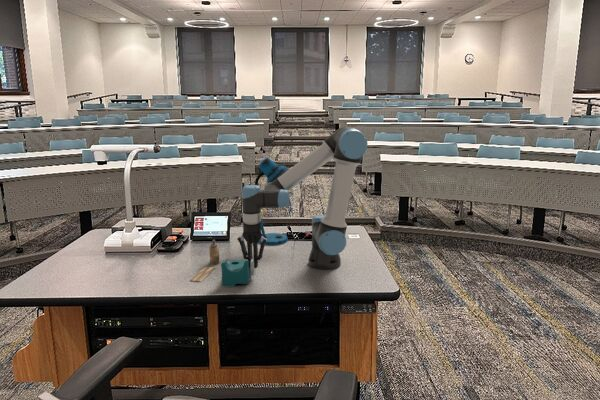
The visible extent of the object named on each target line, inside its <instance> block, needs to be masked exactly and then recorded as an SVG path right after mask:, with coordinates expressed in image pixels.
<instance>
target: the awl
mask: <svg viewBox="0 0 600 400" xmlns="http://www.w3.org/2000/svg"><path fill="white" fill-rule="evenodd" d="M211 240H212V243H210V245H209V247H208V248H209V263H210V265H218V264H220V246H219V245H218V243H217V242H216V239H211Z"/></svg>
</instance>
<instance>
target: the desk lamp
mask: <svg viewBox="0 0 600 400" xmlns="http://www.w3.org/2000/svg"><path fill="white" fill-rule="evenodd" d="M258 168H259V169H260V173H258V175H257V176H256V178H255V181H254V185H258V186H259V180H260V179H261V178H262V177H263V176H265V177H266V179H267V184H268V183H269V182H273V181H274V180H276V179H277V178H278V177H280V176H281V175H282V174H284V173H285V172H286V171H288V170H289V169H290V168H288V167H287V166H286V165H279V164H277V163H275V162H274V161H273V160H272V159H270V158H269V157H265V158H264V159H262V160H261V161H260V163H259V164H258ZM260 222H261V233H262V236H263V237H264V238H267V241H266V242H265V246H279V245H285V244H286V243H288V241H289V239H288V236H287V235H286V234H284V233H280V232H269V233H268V232H267V233H266V231H265V229H264V223H263V219H262V217H261V221H260ZM261 243H262V242H261V239H260V240H259V241H258V244H260V245H261Z"/></svg>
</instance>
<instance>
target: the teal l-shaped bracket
mask: <svg viewBox="0 0 600 400" xmlns="http://www.w3.org/2000/svg"><path fill="white" fill-rule="evenodd" d="M220 265H221V278H222V279H221V283H222V284H221V286H222V287H236V285H237V284H239V285H240V284H241V285H242V284H244V285H246V284H247V285H248V284H249V283H250V280H251V278H252V276H251V268H249V260H247V259H230V261H229V263H228V260H227V259H222V261H221V264H220Z"/></svg>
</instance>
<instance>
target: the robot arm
mask: <svg viewBox="0 0 600 400" xmlns="http://www.w3.org/2000/svg"><path fill="white" fill-rule="evenodd" d="M367 150H368V139H367V137H366V136H365V134H364V133H363V132H362V131H361V130H359V129H358V128H353V127H350V126H342V127H340V128H338V129H336V130H335V131H334V132H333V133H331V134H330V135H329V136H328V137H326V138H325V139H324V140H322V144H320V145H319V146H318V147H317V148H316V149H314V150H313V151H312V152H311V153H309V154H308V155H306V156H305V157H304V158H302V159H301V160H300V161H298V162H297V163H296V164H295V165H293V166H292V167H290V168H289V170H288V171H286V172H285V173H284V174H282V175H281V176H280V177H278V178H277V179H276V180H274V181H273V182H269V183H268V184H265V186H264V188H263V189H261V186H260V185H259V184H258V185H255V184H247V185H244V186H243V187H242V190H241V200H242V201H241V204H242V205H241V206H242V222H243V223H242V231H243V232H242V233H241V235H240V236H238V237H237V238H236V239H237V241H238V243H239V246H240V248H241V249H240V250H241V253H242V257H243V260H249V268H251V277H255V276H256V274H257V268H258V266H259V264H258V263H259V262H258V261H261V259H262V258H263V255H264V250H265V246H266V245H265V242H266V241H267V238H264V237H263V236H262V232H261V222H260V221H261V218H262V213H261V209H282V208H287V207H290V193H289V191H291V190H292V189H294V187H295V186H296V187H297V185H298V184H300V183H301V182H302V181H304V180H305V179H306V178H308V177H309V176H311V175H312V174H313V173H316V171H317V170H318V169H320V168H321V167H323V166H325V164H327V163H329V162H330V161H331V160H332V159H333V160H334V162H335V167H334V172H333V177H332V181H331V186H330V191H329V194H328V200H327V201H328V202H327V205H326V210H325V214H324V215H322V214H321V215H316V216H315V215H314V216H313V217H312V219H311V250H310V253H309V256H308V260H307V261H308V265H309V266H310V267H311V268H314V269H318V270H331V269H335V268H338V267H340V266H341V265H342V263H341V262H342V260H341V257H340V254H341V253H342V252H343V251H344V250H345V248H346V246H347V237H346V232H347V228H348V224H347V223H346V215H347V211H348V206H349V202H350V197H351V193H352V188H353V184H354V180H355V174H356V170H357V167H358V166H360V165H361V164H362V159H363V156H364V155H365V154H366V152H367ZM260 239H261V242H262V243H261V244H260V247H259V246H258V245H259V242H258V241H259V240H260ZM245 242H246V243H245ZM258 247H259V248H258Z"/></svg>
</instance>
